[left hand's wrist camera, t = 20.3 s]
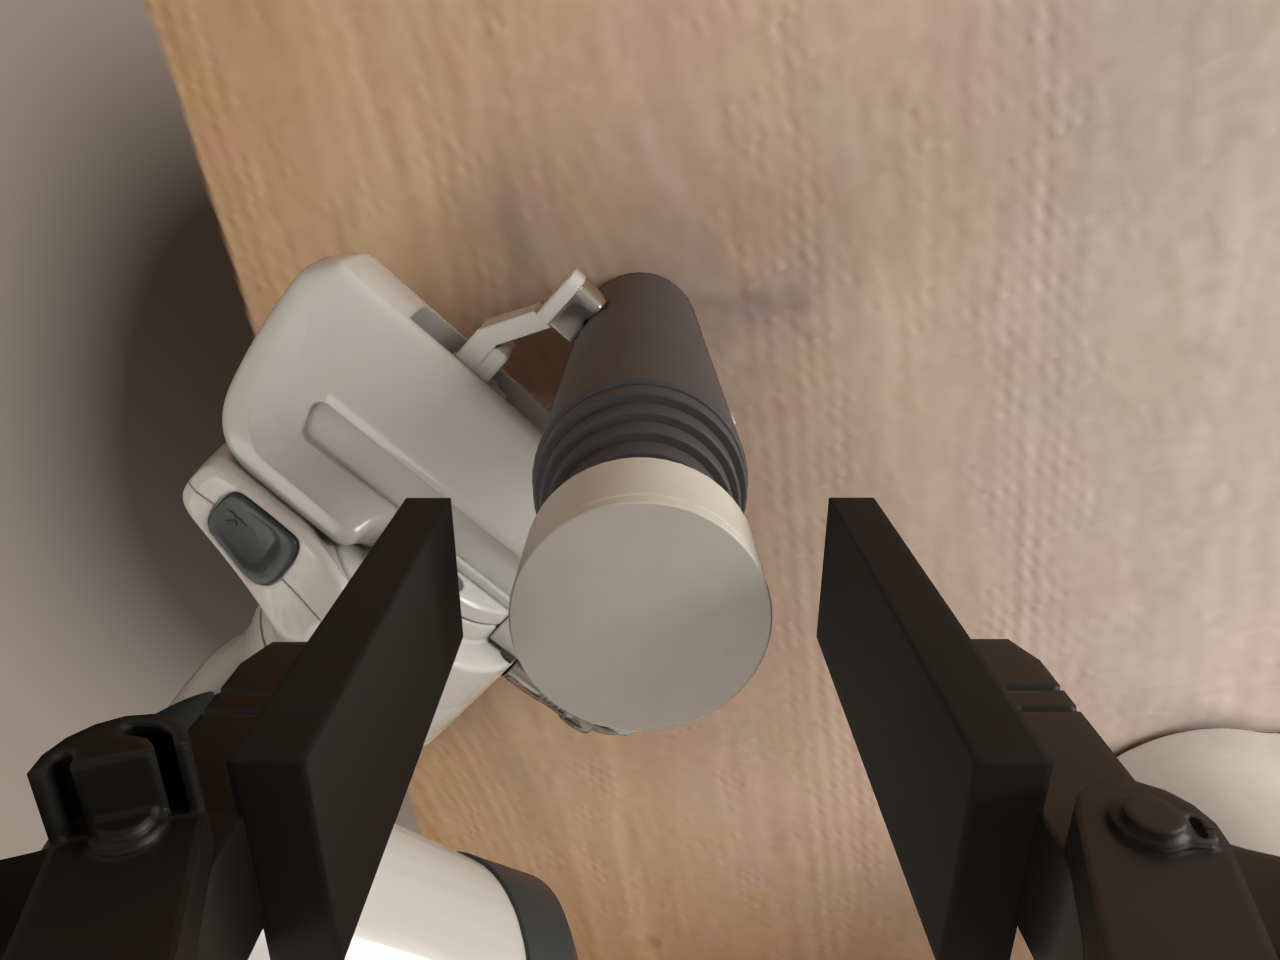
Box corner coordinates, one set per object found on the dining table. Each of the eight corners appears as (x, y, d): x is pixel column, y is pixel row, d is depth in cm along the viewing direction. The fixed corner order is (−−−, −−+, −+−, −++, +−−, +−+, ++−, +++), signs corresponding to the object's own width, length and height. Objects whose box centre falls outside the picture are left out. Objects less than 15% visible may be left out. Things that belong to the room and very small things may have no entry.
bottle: (568, 289, 34) (451, 506, 13) (681, 258, 33) (753, 432, 12) (599, 398, 35) (542, 749, 14) (708, 370, 35) (812, 691, 14)
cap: (756, 450, 14) (774, 495, 12) (754, 658, 15) (771, 726, 13) (513, 460, 14) (494, 507, 12) (535, 667, 15) (521, 736, 14)
